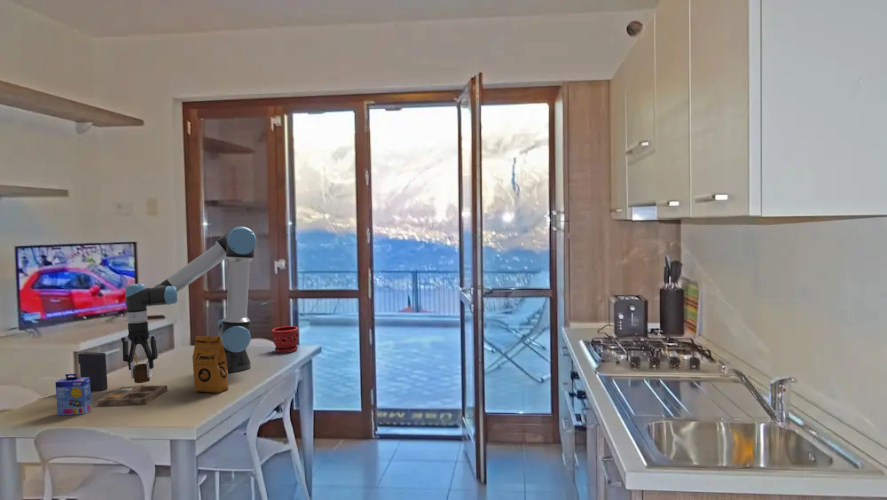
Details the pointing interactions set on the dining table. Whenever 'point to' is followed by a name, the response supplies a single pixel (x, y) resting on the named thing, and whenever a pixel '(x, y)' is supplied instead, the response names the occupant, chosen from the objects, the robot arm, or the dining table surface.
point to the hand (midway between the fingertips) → (141, 377)
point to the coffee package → (210, 365)
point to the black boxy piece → (94, 369)
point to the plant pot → (285, 339)
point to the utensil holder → (140, 371)
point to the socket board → (132, 395)
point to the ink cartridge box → (73, 395)
